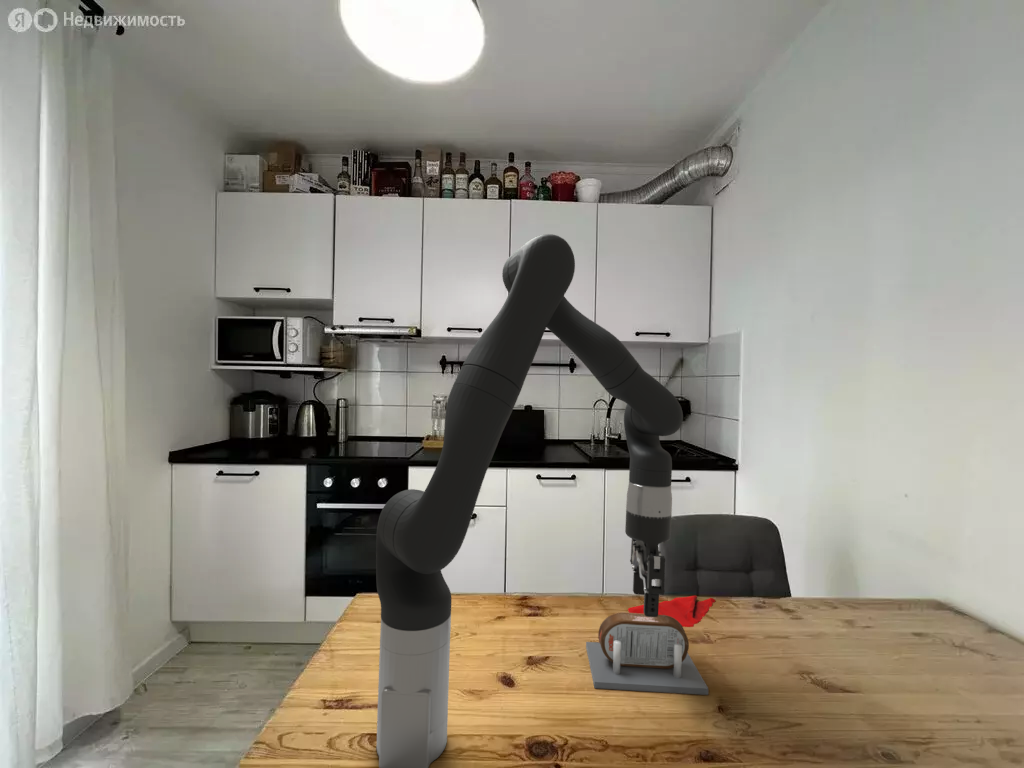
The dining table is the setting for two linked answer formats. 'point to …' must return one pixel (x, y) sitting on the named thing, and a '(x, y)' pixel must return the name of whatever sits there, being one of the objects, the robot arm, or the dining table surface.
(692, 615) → the cloth
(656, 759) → the dining table surface
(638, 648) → the tin
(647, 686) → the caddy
